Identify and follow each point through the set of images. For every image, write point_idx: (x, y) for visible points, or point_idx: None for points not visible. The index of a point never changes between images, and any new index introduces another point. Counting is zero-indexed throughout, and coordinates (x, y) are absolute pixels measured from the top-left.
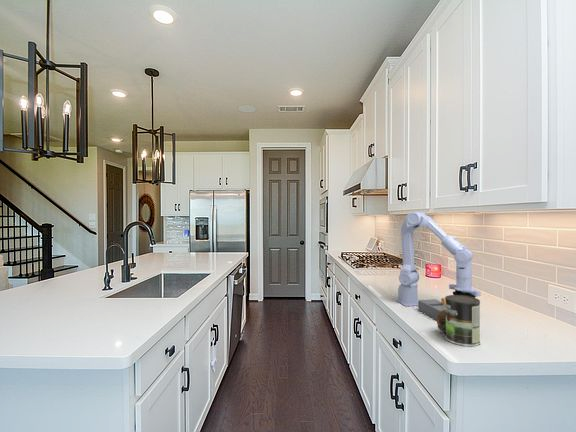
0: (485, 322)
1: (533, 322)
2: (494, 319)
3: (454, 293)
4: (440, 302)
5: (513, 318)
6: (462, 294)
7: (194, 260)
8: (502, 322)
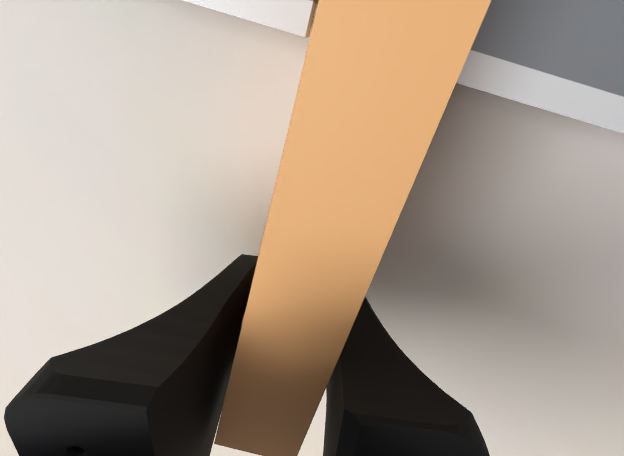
0: (25, 204)
1: (9, 449)
2: (95, 332)
3: (405, 410)
4: (551, 25)
5: None
6: (117, 402)
7: None
8: (18, 317)
